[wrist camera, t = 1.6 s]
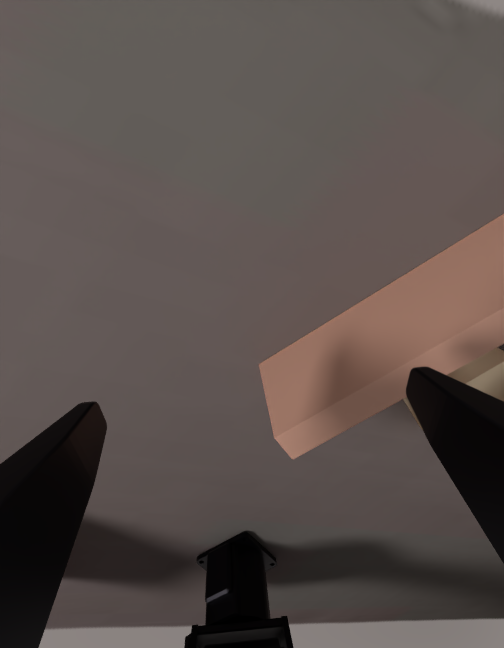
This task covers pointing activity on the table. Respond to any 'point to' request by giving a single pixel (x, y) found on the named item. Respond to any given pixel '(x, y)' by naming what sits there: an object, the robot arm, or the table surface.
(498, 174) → the table surface
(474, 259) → the stop board
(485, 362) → the maple block
